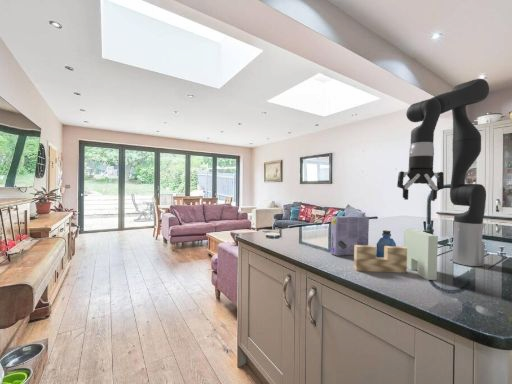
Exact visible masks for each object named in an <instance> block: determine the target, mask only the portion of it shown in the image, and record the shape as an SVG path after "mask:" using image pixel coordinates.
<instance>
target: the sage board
mask: <svg viewBox="0 0 512 384" xmlns="http://www.w3.org/2000/svg"><path fill="white" fill-rule="evenodd" d="M403 230H404V231H403V232H404V233H403V247H405V248H407V269H409V270H410V271H417V272H416V273H417V275H419V276H420V277H422V278H424V279H425V280H428V281H430V280H431V281H437V276H438V275H437V274H438V272H437V271H438V246H439V243H438V242H439V241H438V240H439V236H438V235H435V234H431V233H430V232H429V233H428V232H425V231H422V230H419V229H416V228H411V227H405V228H404V229H403Z"/></svg>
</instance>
